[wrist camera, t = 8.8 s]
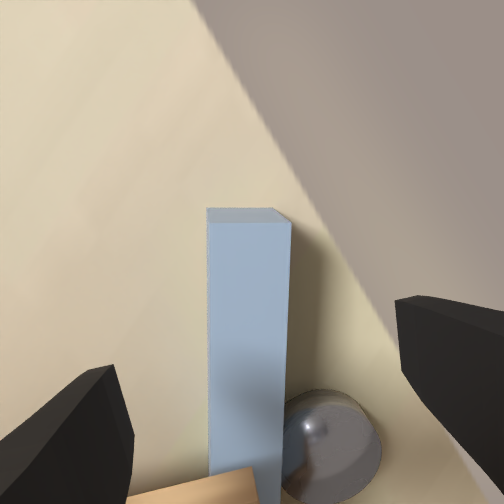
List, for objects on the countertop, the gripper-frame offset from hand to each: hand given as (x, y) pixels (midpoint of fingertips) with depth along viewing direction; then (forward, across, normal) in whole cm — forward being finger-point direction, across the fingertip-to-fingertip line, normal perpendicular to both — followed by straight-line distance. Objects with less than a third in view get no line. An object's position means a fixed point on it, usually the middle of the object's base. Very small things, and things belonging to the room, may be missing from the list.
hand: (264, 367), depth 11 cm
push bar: (+9, 0, +4) cm, 9 cm away
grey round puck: (+8, -3, +9) cm, 13 cm away
